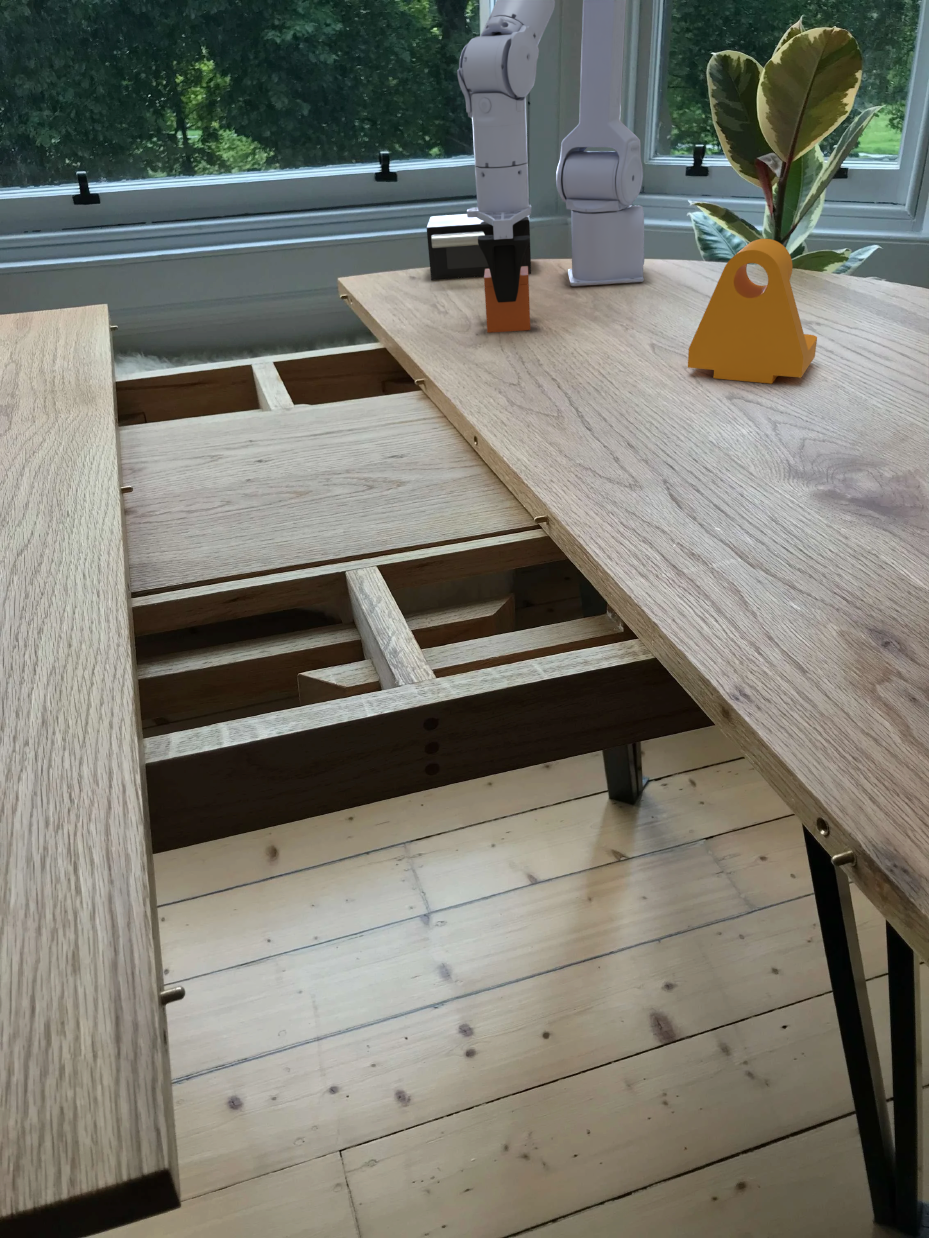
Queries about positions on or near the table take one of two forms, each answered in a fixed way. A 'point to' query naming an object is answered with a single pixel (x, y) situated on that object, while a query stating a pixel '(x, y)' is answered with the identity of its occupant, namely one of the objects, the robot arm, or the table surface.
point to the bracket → (753, 321)
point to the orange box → (508, 306)
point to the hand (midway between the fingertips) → (507, 292)
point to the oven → (459, 247)
